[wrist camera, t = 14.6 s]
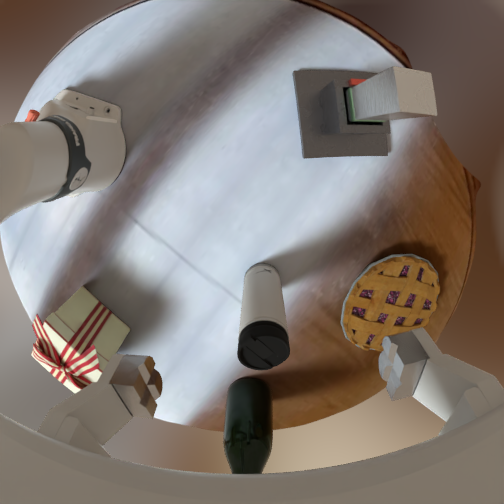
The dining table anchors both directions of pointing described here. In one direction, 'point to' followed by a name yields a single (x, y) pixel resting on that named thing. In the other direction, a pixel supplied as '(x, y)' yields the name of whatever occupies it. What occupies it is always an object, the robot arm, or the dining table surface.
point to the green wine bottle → (248, 426)
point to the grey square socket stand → (334, 117)
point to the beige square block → (391, 97)
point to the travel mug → (262, 320)
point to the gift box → (78, 340)
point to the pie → (389, 300)
